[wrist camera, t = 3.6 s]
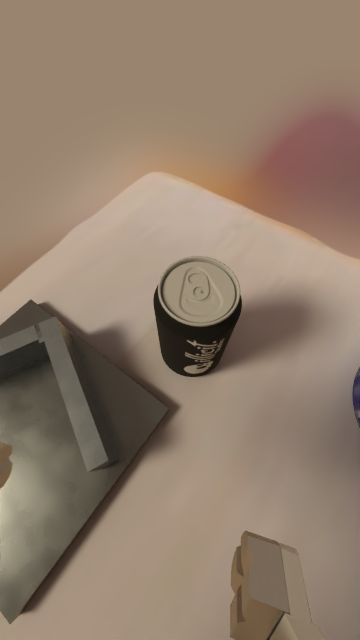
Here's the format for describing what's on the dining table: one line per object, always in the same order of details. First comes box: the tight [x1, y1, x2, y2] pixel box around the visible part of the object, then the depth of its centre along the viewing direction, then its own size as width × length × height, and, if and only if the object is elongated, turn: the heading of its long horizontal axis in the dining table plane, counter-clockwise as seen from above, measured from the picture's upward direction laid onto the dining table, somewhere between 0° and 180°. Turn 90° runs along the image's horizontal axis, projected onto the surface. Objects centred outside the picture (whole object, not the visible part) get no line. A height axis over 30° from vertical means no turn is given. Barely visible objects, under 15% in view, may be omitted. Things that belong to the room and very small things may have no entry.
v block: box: [0, 300, 169, 624], centre depth 23 cm, size 18×20×5 cm
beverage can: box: [154, 256, 242, 377], centre depth 24 cm, size 7×7×12 cm
